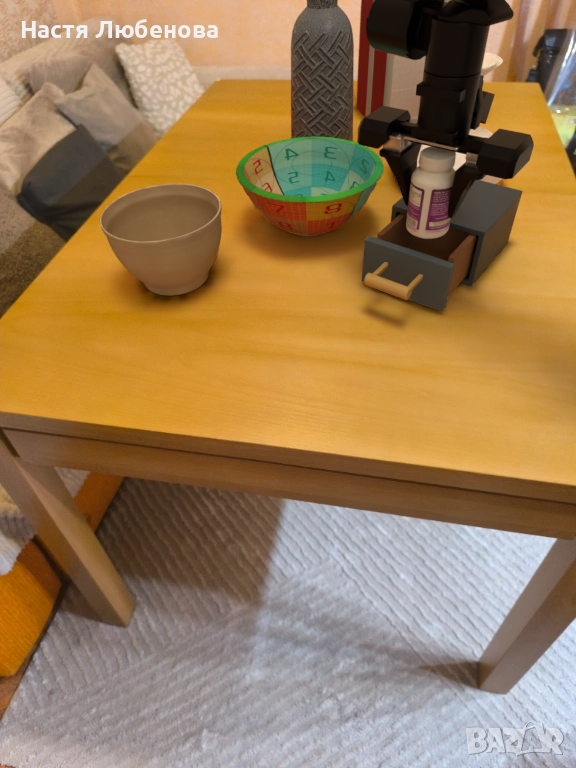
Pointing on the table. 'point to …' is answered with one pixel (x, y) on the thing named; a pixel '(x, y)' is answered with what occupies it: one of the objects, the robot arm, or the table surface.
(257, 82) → the table surface
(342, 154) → the bowl
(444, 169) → the pill bottle
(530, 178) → the table surface
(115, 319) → the table surface
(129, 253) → the planter bowl
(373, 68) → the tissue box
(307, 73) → the vase
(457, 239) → the drawer
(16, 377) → the table surface
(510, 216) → the cabinet
